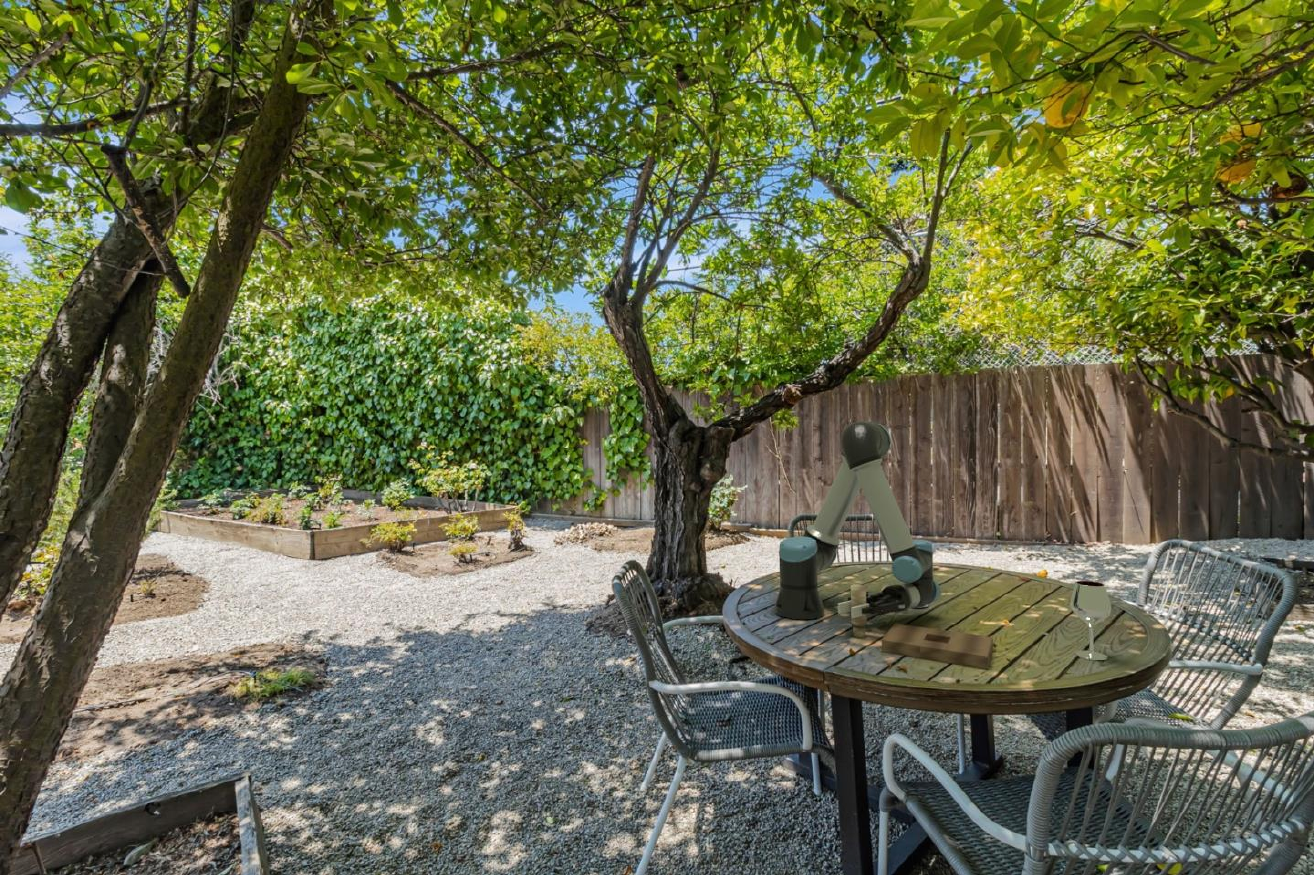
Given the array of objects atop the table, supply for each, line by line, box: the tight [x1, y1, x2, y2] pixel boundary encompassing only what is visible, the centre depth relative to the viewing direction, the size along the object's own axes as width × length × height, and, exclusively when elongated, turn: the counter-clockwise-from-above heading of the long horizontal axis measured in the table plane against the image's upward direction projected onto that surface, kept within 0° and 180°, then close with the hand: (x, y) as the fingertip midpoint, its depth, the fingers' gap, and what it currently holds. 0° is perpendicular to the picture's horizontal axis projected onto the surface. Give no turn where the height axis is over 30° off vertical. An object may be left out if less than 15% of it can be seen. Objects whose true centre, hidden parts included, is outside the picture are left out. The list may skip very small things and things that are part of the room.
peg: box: [850, 583, 868, 639], centre depth 165 cm, size 4×4×14 cm
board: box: [881, 622, 994, 670], centre depth 153 cm, size 24×16×3 cm, turn 57°
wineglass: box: [1070, 580, 1112, 661], centre depth 146 cm, size 8×8×18 cm
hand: (845, 610), depth 162 cm, fingers closed on peg, 4 cm apart
